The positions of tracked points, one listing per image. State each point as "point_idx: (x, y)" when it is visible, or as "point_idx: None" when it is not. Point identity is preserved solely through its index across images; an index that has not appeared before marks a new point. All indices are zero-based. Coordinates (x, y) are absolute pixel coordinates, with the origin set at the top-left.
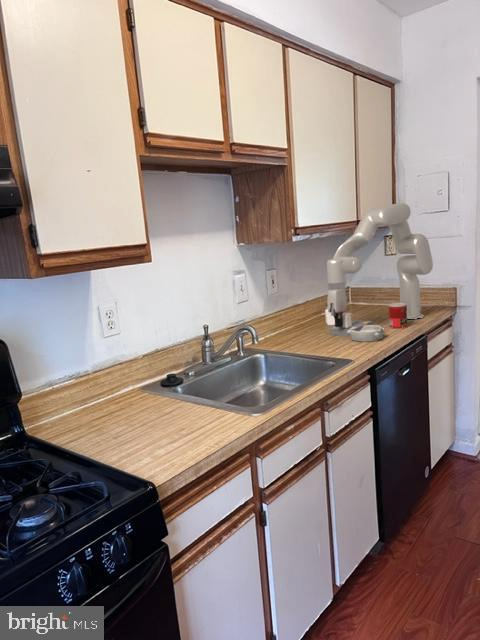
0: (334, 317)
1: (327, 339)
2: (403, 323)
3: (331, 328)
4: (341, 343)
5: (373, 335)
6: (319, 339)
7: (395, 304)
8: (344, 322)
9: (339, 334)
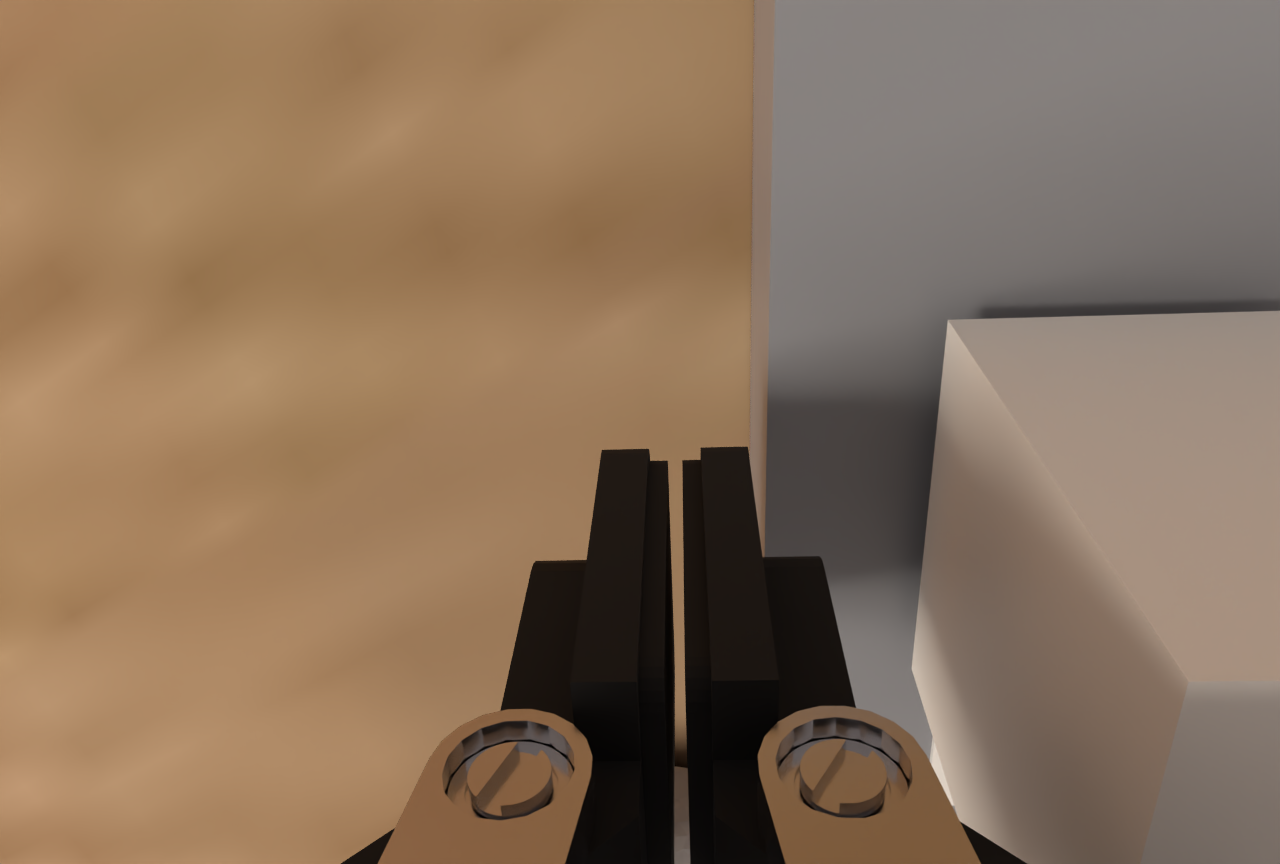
0: (433, 798)
1: (190, 286)
2: None
3: (789, 108)
4: (87, 758)
5: None
6: (44, 45)
7: None
8: (966, 710)
9: (753, 366)
